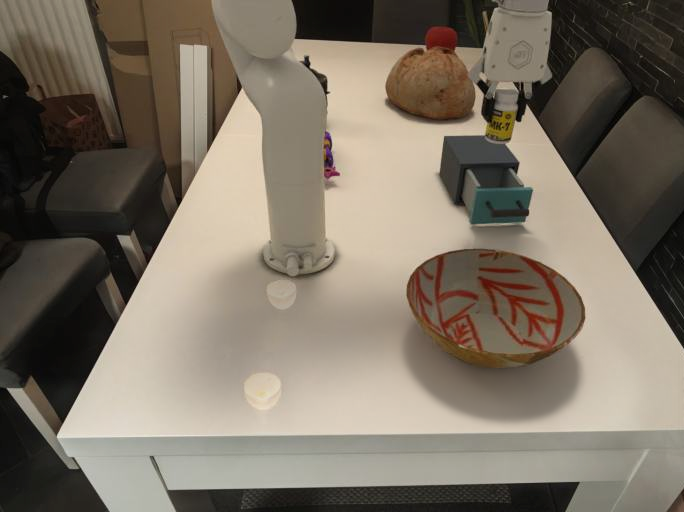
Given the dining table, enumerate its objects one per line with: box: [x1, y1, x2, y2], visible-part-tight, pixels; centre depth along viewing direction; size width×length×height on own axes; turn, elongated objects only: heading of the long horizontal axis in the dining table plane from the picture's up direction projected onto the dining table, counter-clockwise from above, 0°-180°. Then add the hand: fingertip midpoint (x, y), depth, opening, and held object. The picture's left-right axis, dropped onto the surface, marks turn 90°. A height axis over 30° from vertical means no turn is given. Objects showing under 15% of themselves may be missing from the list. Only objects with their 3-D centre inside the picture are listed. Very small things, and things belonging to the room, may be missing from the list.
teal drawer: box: [460, 167, 534, 225], centre depth 108 cm, size 18×11×7 cm, turn 8°
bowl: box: [406, 248, 586, 369], centre depth 80 cm, size 25×25×8 cm
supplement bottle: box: [484, 87, 519, 144], centre depth 97 cm, size 5×5×8 cm
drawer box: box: [439, 134, 521, 205], centre depth 117 cm, size 14×12×9 cm
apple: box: [424, 26, 459, 52], centre depth 188 cm, size 11×11×12 cm
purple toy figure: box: [324, 130, 341, 180], centre depth 122 cm, size 14×25×12 cm, turn 5°
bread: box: [384, 46, 476, 121], centre depth 153 cm, size 26×23×15 cm
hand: (501, 118), depth 97 cm, fingers closed on supplement bottle, 4 cm apart
